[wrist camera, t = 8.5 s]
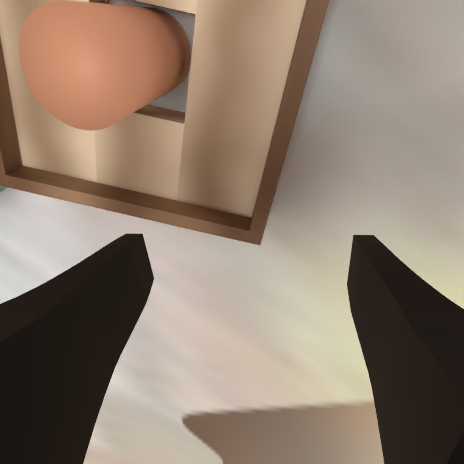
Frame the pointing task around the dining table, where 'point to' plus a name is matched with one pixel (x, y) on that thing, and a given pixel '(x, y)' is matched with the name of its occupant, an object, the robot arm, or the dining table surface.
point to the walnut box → (175, 123)
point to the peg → (100, 59)
